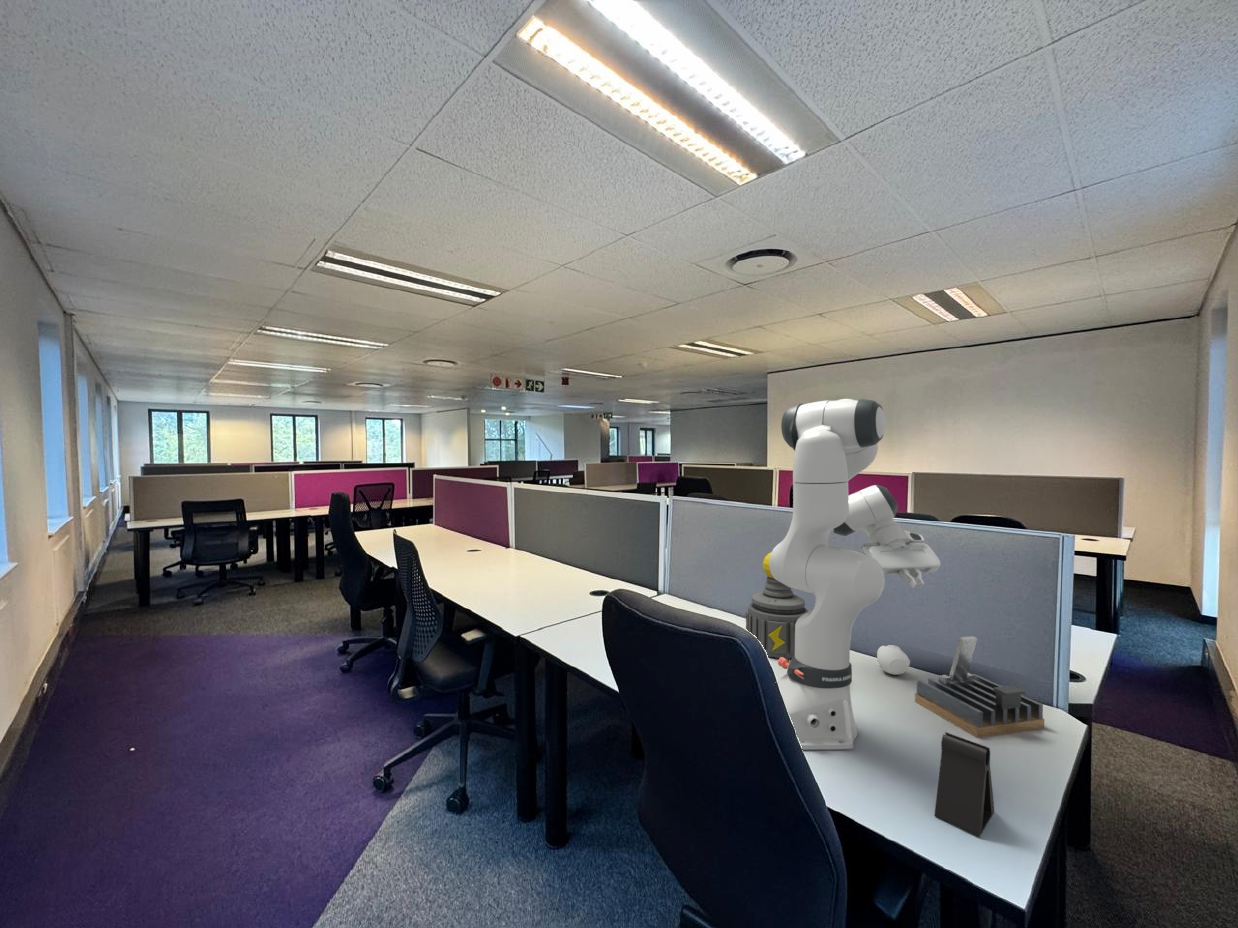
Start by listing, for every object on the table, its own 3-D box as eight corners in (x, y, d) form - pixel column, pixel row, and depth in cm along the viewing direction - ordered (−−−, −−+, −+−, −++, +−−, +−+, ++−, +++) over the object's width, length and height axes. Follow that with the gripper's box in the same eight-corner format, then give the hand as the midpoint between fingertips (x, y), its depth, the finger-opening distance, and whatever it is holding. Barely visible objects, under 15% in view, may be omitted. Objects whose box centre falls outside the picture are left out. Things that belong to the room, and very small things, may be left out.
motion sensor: (915, 676, 134) (915, 648, 134) (896, 681, 130) (896, 652, 130) (888, 665, 141) (888, 638, 141) (869, 670, 138) (869, 642, 138)
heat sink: (980, 739, 103) (981, 696, 103) (914, 701, 119) (915, 664, 119) (1048, 730, 107) (1049, 688, 107) (976, 694, 123) (976, 658, 123)
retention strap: (962, 639, 115) (958, 637, 116) (950, 682, 118) (946, 679, 119) (978, 638, 116) (974, 636, 117) (966, 680, 119) (962, 678, 120)
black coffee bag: (952, 793, 86) (953, 723, 86) (994, 811, 82) (995, 738, 82) (934, 816, 80) (934, 742, 80) (978, 838, 76) (979, 759, 76)
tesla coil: (747, 634, 165) (748, 544, 165) (808, 641, 159) (809, 547, 159) (743, 655, 147) (744, 554, 147) (811, 664, 141) (813, 558, 141)
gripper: (864, 536, 135) (891, 581, 125) (927, 535, 139) (957, 578, 130) (852, 550, 139) (878, 594, 129) (913, 548, 144) (942, 590, 134)
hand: (918, 586), depth 130 cm, fingers closed
